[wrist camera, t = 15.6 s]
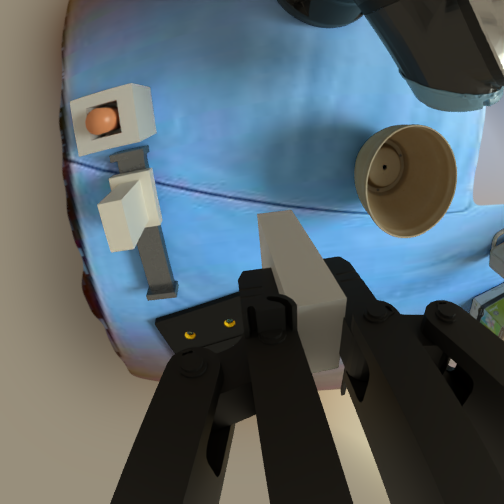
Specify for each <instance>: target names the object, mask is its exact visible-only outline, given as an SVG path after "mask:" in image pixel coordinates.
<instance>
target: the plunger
mask: <svg viewBox="0 0 504 504" xmlns="http://www.w3.org/2000/svg"><path fill="white" fill-rule="evenodd" d="M85 124H86V128H87V130H88V131H89V132H90V133H91V134H94V135H99V134H103V133H106V132H109V131H112V130H116V129H118V128H120V127H121V125H120V119H119V112H118V107H106V108H96V109H93V110H92V111H90V112H89V114H88V115H87V117H86V121H85Z"/></svg>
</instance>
